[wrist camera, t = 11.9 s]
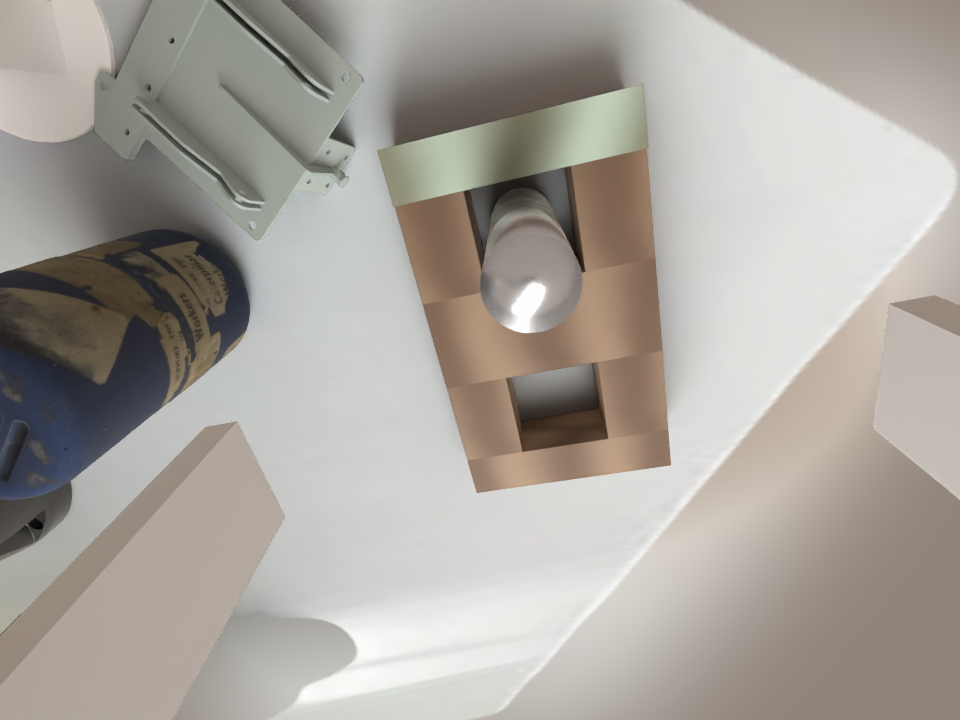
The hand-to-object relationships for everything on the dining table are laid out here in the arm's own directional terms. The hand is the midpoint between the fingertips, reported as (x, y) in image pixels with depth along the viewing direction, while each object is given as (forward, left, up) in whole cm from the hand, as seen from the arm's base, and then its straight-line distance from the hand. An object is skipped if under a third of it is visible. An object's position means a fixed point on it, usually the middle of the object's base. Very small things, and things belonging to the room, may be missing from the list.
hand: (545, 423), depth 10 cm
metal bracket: (-14, +10, -24) cm, 30 cm away
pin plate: (0, -6, -24) cm, 25 cm away
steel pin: (0, 0, -24) cm, 24 cm away
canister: (-24, 0, -24) cm, 34 cm away
